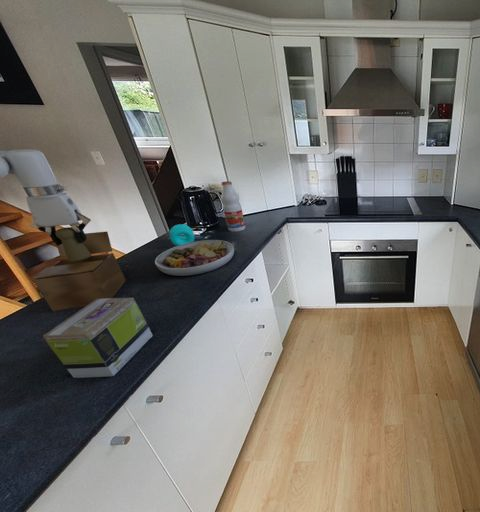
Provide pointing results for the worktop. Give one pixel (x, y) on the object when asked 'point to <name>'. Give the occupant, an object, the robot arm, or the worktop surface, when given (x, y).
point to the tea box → (100, 337)
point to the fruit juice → (232, 208)
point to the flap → (93, 243)
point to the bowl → (195, 257)
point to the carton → (79, 281)
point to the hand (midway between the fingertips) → (71, 242)
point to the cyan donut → (181, 230)
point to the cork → (72, 244)
